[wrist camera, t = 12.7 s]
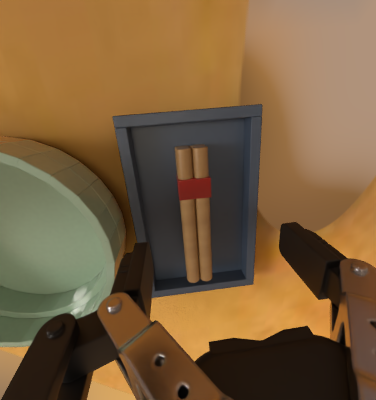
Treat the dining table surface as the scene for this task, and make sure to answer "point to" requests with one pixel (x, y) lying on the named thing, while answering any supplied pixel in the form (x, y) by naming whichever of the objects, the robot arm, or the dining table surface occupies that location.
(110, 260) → the bowl
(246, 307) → the dining table surface
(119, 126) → the tray
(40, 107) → the dining table surface
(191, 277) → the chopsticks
